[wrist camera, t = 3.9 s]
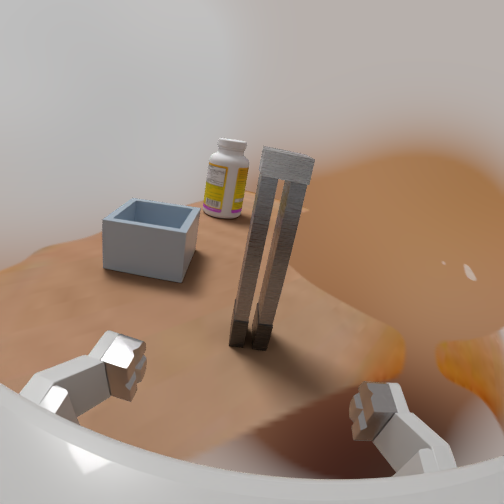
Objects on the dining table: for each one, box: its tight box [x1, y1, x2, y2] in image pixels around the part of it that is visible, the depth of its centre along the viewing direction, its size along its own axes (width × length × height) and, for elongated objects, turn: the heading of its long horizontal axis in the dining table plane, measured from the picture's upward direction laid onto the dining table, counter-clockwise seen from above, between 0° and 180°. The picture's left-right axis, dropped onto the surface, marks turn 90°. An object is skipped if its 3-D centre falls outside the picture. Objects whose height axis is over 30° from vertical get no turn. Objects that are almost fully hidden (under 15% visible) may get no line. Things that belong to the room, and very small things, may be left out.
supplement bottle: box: [203, 138, 249, 219], centre depth 51 cm, size 7×7×13 cm
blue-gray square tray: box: [102, 198, 201, 283], centre depth 33 cm, size 9×9×5 cm
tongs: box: [229, 146, 315, 351], centre depth 22 cm, size 3×3×14 cm
